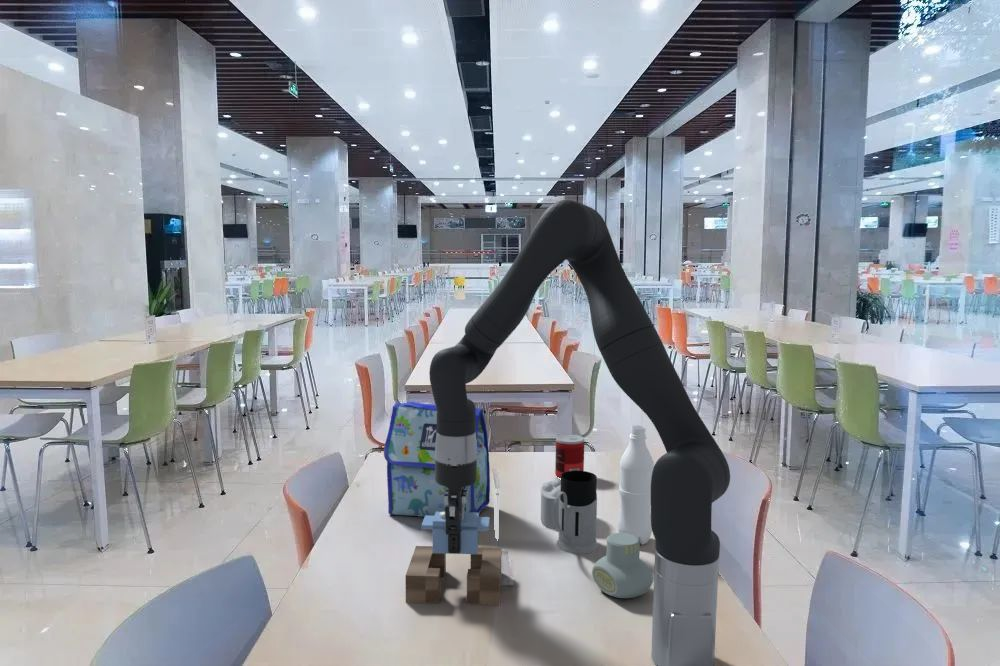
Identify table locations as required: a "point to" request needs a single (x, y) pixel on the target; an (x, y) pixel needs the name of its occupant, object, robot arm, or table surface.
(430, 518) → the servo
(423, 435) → the lunch bag
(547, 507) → the lumpy-topped squat cylinder
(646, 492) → the water bottle
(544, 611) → the table surface
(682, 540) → the robot arm
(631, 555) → the air freshener
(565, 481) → the glass holder
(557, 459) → the canned food
